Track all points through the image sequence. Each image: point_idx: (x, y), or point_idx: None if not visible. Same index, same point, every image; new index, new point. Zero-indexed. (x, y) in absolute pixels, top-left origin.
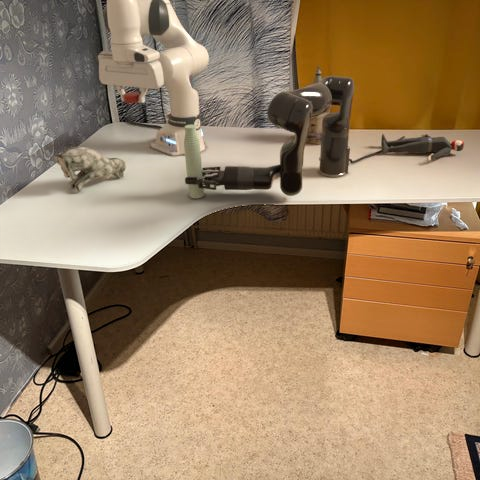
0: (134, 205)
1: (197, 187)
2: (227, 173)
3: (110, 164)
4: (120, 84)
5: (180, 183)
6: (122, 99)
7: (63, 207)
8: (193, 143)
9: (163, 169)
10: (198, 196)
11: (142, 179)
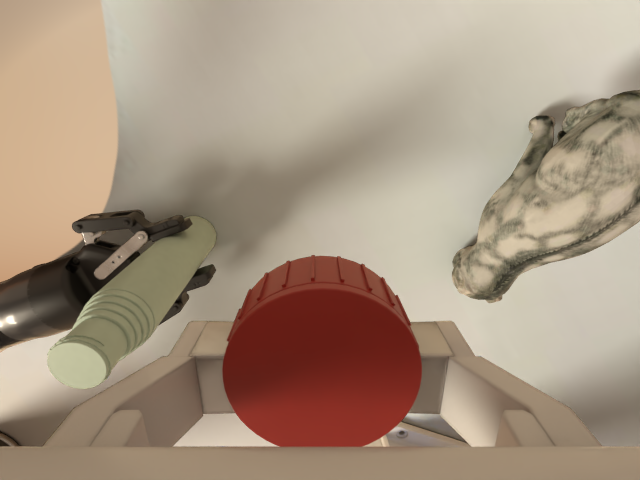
0: (320, 111)
1: None
2: (55, 276)
3: (489, 244)
4: (507, 463)
5: None
6: (439, 325)
7: (529, 5)
8: (90, 300)
9: None
10: None
11: (393, 272)
